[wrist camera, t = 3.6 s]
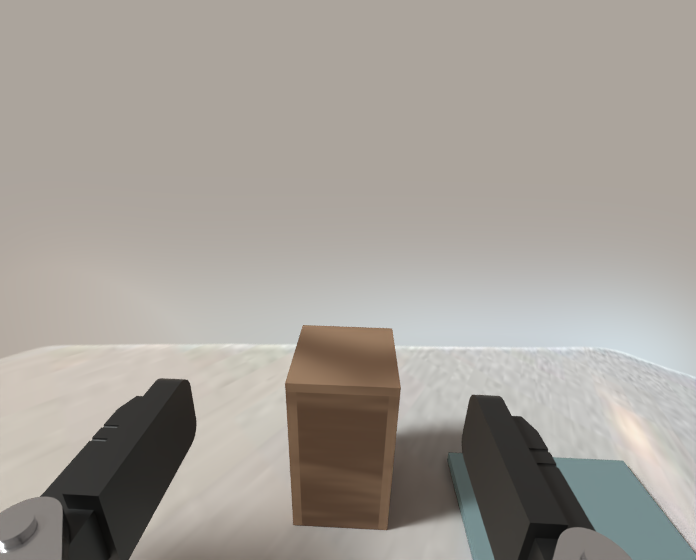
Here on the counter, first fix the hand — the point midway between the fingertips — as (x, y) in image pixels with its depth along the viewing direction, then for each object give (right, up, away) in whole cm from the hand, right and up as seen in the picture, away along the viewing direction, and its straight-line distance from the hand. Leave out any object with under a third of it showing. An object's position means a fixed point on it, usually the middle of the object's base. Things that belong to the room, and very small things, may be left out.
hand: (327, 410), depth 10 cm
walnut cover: (0, -12, +17) cm, 21 cm away
